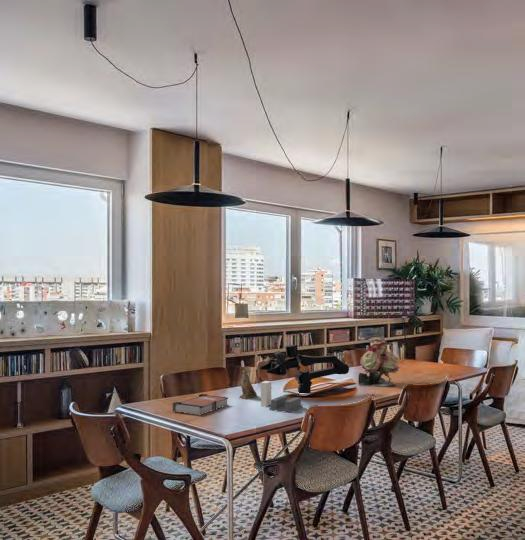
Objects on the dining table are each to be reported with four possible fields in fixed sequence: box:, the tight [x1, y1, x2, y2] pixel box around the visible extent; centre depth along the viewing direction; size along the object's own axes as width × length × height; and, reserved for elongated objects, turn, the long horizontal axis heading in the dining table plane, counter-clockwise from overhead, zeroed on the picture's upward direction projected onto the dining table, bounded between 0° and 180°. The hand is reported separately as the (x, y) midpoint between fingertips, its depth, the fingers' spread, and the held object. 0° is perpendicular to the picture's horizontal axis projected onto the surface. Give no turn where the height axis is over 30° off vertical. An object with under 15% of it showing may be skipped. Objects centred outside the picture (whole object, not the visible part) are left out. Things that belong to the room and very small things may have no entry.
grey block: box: [260, 380, 272, 407], centre depth 301 cm, size 5×4×12 cm
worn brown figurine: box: [239, 369, 258, 400], centre depth 322 cm, size 12×6×18 cm, turn 142°
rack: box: [268, 395, 303, 413], centre depth 294 cm, size 14×12×5 cm
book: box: [172, 393, 229, 415], centre depth 295 cm, size 26×18×5 cm
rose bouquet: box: [358, 336, 400, 388], centre depth 362 cm, size 26×29×30 cm
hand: (263, 370), depth 317 cm, fingers open, 9 cm apart
